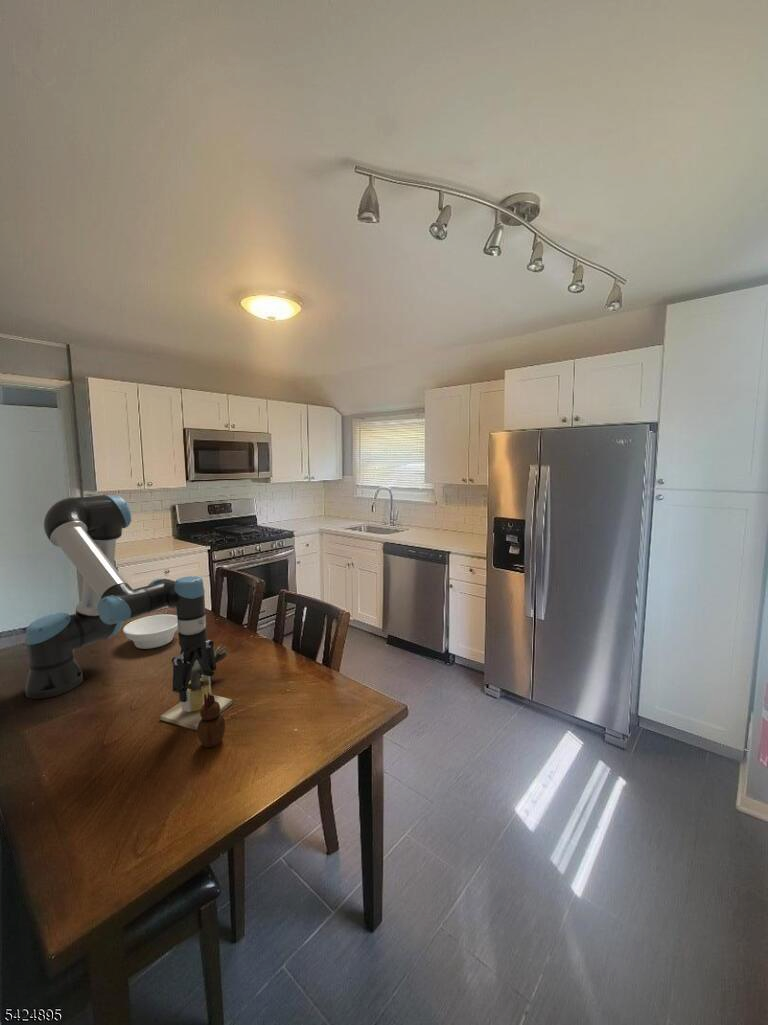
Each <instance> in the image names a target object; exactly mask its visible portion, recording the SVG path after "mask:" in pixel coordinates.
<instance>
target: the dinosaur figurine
mask: <svg viewBox="0 0 768 1025" xmlns="http://www.w3.org/2000/svg"><path fill="white" fill-rule="evenodd" d="M223 645H224V643H222V644H221V645H220V646H218V647H217V648H216V649H215V651H214V656H215V662H216V664H217V663H219V662H221V661H222V660H225V659H226V658H227V656H228V653H227V652H226V650H224V649H225V648H226V645H224V646H223ZM222 646H223V647H222ZM221 647H222V648H221ZM204 652H205V651H204ZM211 666H212V665H211ZM193 672H199V674H200V678H202V677H201V676H202V675H205V674H204V673H203V671H202V669H201V667H200V665H199V663H198V660H196V661H195V663H194V666H193V667H192V670H191V674H192V673H193ZM190 680H191V675H190ZM190 680H189V681H190ZM215 682H216V680H214V679H213V678H212V683H211V684H214V683H215Z"/></svg>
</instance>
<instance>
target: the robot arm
mask: <svg viewBox="0 0 768 1025" xmlns="http://www.w3.org/2000/svg"><path fill="white" fill-rule="evenodd" d="M131 522H132V514H131V510H130V507H129V505H128V503H127V502H126V500H125V499H124V498H123V497H121V496H120V495H117V494H101V495H90V496H77V497H67V498H63V499H61V500H59V501H57V502H55V503H54V504H52V506H51V507H50V508H49V509H48V510H47V512H46V514H45V517H44V521H43V529H44V534H45V535H46V537H47V539H48V541H49V542H50V543H51V544H52V545H54V546H55V547H58V548H60V549H61V550H62V552H64V554H65V555H66V557H67V558H68V559H69V561H70V562H71V563H72V564H73V566H74V568H76V569H77V571H78V572H79V573H80V575H81V577H82V590H81V592H82V593H81V601H79V603H77V605H76V606H75V613H73V614H69V613H67V612H57V613H55V614H53V613H52V614H48V615H46V616H42V617H40V618H37V619H35V620H34V621H33V622H31V623H30V624H29V625H28V626H27V627H26V629H25V643H26V647H27V649H26V650H27V656H28V657H27V658H28V665H29V673H28V675H27V680H26V684H25V685H24V694H25V696H26V697H27V698H29V699H32V700H41V699H49V698H52V697H57V696H60V695H62V694H66V693H68V692H70V691H72V690H74V689H76V688H77V687H78V686H79V685H81V684H82V682H83V681H84V675H83V672H82V669H81V668H80V666H79V664H78V662H77V661H76V659H75V650H77V649H80V648H83V647H85V646H88V645H91V644H94V643H97V642H99V641H104V640H106V639H109V638H110V637H113V636H114V635H116V634H118V633H119V631H120V630H121V628H122V625H123V623H124V622H127V621H128V620H131V619H133V618H137V617H138V616H142V615H146V614H149V613H151V612H154V611H159V610H161V609H165V608H166V607H168V608H172V609H176V610H175V611H176V616H177V623H178V630H177V631H178V633H177V634H178V635H177V636H178V645H179V647H180V649H181V650H180V653H179V655H178V656H177V657H173V658H171V663H172V669H173V670H172V692H174V693H179V695H178V696H179V701H180V702H182V710H184V711H187V712H190V711H191V698H190V690H189V689H188V684H189V680H190V675H191V670H192V667H193V666H194V663H195V661H196V660H198V663H199V665H200V667H201V669H202V671H203V673H204V674H205V675H202V676H201V677H202V678H203V679H207V680H209V686H210V694H212V684H213V683H212V679H213V678H212V677H213V676H214V675H215V672H214V671H216V670H217V663H216V662H215V656H214V652H215V651H214V643H215V642H214V640H211V639H208V635H207V634H208V632H207V628H206V627H207V618H206V604H205V602H206V601H205V593H206V591H205V588H204V580H203V578H202V577H200V576H197V575H194V576H193V575H190V576H189V575H187V576H183V577H180V578H178V579H175V580H173V579H170V578H169V579H168V578H156V579H154V580H152V581H151V582H150V583H148V585H146V586H142V587H137V588H134V589H133V588H132V587H131V586H130V584H129V583H128V582H127V580H126V579H125V578H124V577H123V576H122V574H120V572H119V571H118V569H117V568H116V567H115V559H116V558H115V557H116V545H117V544H116V543H117V540H119V539H120V538H121V537H122V532H123V529H126V528H128V527H129V526H130V525H131ZM204 651H205V652H204ZM211 665H212V666H211ZM180 702H179V703H180Z"/></svg>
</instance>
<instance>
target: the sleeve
mask: <svg viewBox="0 0 768 1025" xmlns="http://www.w3.org/2000/svg"><path fill="white" fill-rule="evenodd" d="M200 680H201V688H199V689H194V690H191V680H190V681H189V684H188V689H189V690H190V698H191V711H197V710H201V708H202V706H203V705H204V694H206V697H208V693H209V695H210V686H209V680H207V679H203V678H200Z"/></svg>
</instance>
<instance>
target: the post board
mask: <svg viewBox="0 0 768 1025" xmlns="http://www.w3.org/2000/svg"><path fill="white" fill-rule="evenodd" d="M199 688H201V680H200V674H199V672H193V673H192V674H191V690H194V689H199ZM213 695H214V699H215V701H216V702H218V703H219V705H220V713H221V714H222V712H224V711H225V710H226V709H227V708H228V707H230V706H231V705H232V704H234V703H233V699H231V698H227V697H224V696H219V695H216V694H213ZM200 711H201V710H197V711H190V712H187V711H184V710H182V702H179V703H177V704H175V705H174V706H173V707H171V708H170V709H168V710H167V711H165V712H164V713H162V714H161V715H160V721H164V722H167V723H171V724H175V725H177V726H179V727H180V726H181V727H184V728H186V729H191V730H195V731H197V727H198V724H199V722H200V720H201V719H202V717H201V715H200Z"/></svg>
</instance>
